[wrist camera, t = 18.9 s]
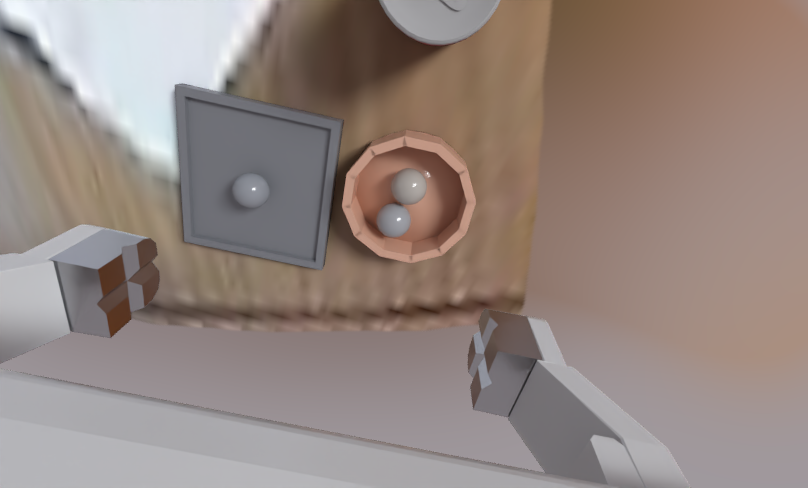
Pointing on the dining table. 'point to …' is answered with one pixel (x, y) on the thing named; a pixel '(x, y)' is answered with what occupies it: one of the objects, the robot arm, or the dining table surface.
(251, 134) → the tray
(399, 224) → the pebble
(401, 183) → the pebble
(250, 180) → the pebble
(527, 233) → the dining table surface
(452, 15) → the canned food
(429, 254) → the bowl
